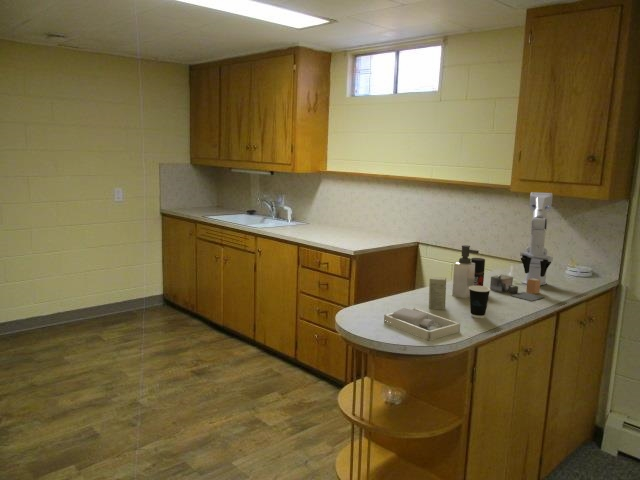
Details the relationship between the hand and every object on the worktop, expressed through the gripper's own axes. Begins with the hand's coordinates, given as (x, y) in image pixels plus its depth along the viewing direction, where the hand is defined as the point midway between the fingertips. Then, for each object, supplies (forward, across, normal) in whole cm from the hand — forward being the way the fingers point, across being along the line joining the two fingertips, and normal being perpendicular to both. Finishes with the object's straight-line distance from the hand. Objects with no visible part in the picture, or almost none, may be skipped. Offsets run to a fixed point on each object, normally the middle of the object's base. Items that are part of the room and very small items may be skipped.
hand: (534, 274), depth 233 cm
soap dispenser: (+9, -13, -31) cm, 35 cm away
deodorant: (+8, -15, -21) cm, 27 cm away
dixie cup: (+9, +8, -50) cm, 51 cm away
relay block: (+8, 0, 0) cm, 8 cm away
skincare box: (+9, -8, -55) cm, 56 cm away
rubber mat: (+8, +3, -9) cm, 13 cm away
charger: (+9, +3, -78) cm, 79 cm away
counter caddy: (+8, +5, -78) cm, 79 cm away
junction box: (+8, -11, -8) cm, 16 cm away
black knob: (+8, -5, -8) cm, 12 cm away
